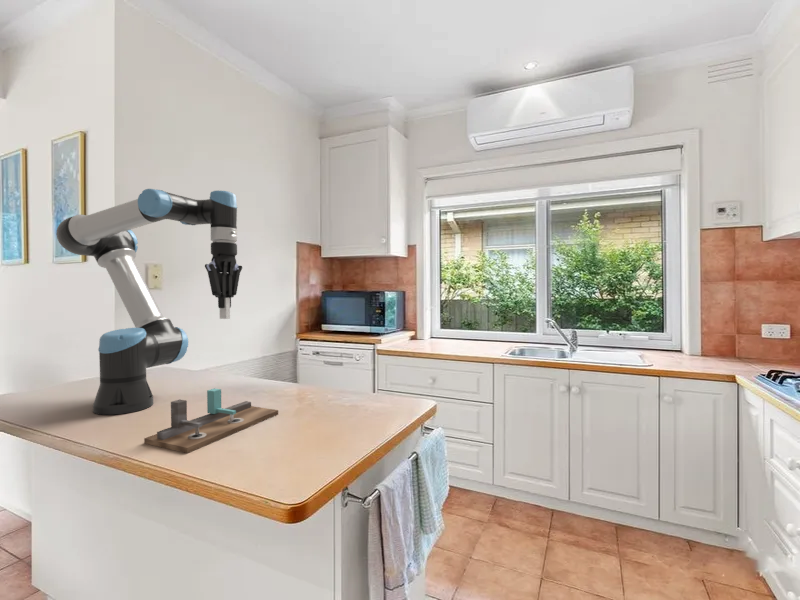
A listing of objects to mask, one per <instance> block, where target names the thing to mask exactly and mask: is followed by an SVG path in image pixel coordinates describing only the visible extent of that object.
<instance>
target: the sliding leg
mask: <svg viewBox="0 0 800 600" xmlns="http://www.w3.org/2000/svg"><path fill="white" fill-rule="evenodd" d="M206 397H207V399H206V400H207V402H206V404H207V407H206V410H207V414H216V413H219V412H220V413H226V414H230V421H233V415H234V414H236V410H229V409H225V408H224V407H223V408H222V389H221V388H216V387H215V388H211V389H208V390H206Z"/></svg>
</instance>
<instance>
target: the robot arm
mask: <svg viewBox="0 0 800 600" xmlns="http://www.w3.org/2000/svg"><path fill="white" fill-rule="evenodd" d="M209 195H210V196H209V198H208V199H195V198H194V199H193V198H192V197H191V198H190V197H187V196H182V195H178V194H174V193H171V192H167V191H164V190H161V189H155V188H146V189H144V190H142V192H141V193H139V195H138V197H137V198H136V199H133V200H130V201H126V202H124V203H121V204H118V205H115V206H111V207H108V208H105V209H102V210H100V211H97V212H93V213H91V214H88V215H85V214H76V215H73V216H70V217H67V218H65V219H63V220H62V221H61V222H60V223H59V224H58V226H57V228H56V232H55V233H56V239H57V241H58V243H59V244H60V245H61V247H62V248H63V249H65V250H66V251H68V252H69V253H71V254H74V255H77V256H89V257H94V258H95V261H96V263H97V265H98V266H99V267H101V268H103V269H106V272H107V274H108V275H109V277H110V280H111V281H112V283H113V285H114V288H115V289H116V291H117V293H118V296H119V297H120V299H121V301H122V303H123V305H124V307H125V309H126V311H127V313H128V316H129V318H130V319H131V321H132V323H133V326H134V327H128V328H119V329H115V330H110V331H108V332H105V333H103V334H101V336H100V338H99V340H98V341H99V343H98V345H99V346H98V349H97V350H98V354H99V356H98V357H99V387H98V390H97V393H96V395H95V398H94V400H93V403H92V411H93V413H94V414H97V415H102V416H103V415H104V416H105V415H106V416H107V415H109V416H110V415H121V414H130V413H134V412H139V411H142V410H145V409H147V408H149V407H152V406H153V405H154V395H153V393H152V390H151V387H150V385H149V383H148V380H147V369H148V368H154V367H158V366H163V365H170V364H172V363H175V362H178V361H180V360H182V358H183V357H185V355H186V354H187V352H188V347H189V337H188V335H187V332H186V331H185V330H184V329H183V328H180V327H176V326H174V324H173V323H172V321H171V319H170V318H168V317H164V316H163V314H162V313H161V310H160V308H159V306H158V304H157V302H156V300H155V298H154V297H153V294H152V292H151V290H150V289H149V287H148V285H147V283H146V281H145V279H144V277H143V275H142V273H141V271H140V269H139V267H138V265H137V263H136V260H135V258H136V257H137V251H138V244H139V242H138V239H137V236H136V234H135V232H134V231H133V229H137V228H140V227H143V226H146V225H149V224H153V223H156V222H160V221H163V220H170V221H177V222H180V223H181V224H182V225H185V226H188V225H189V226H197V225H210V241H212V242H211V243H210V254H211V255H212V257H211V260H210V262H209V263H206V264H204V269H206V272H207V276H208V280H209V286H210V289H211V290H210V291H211V294H212V296H214V297H215V298H217V305H218V306H217V307H218V309H219V319H220V320H221V319H223V320H228V319H230V320H231V307H232V298H234V296H236V295H237V293H238V286H239V280H240V277H241V276H240V275H241V272H242V269H243V266H242V265H239V263H237V258H236V257H237V255H238V244H237V243H236V242H237V241H238V232H237V231H238V230H237V229H238V226H237V222H238V219H237V217H238V214H237V213H238V205H237V195H236V194H235V193H233V192H231V191H227V190H213V191H211V192H210V194H209Z"/></svg>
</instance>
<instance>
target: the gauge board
mask: <svg viewBox="0 0 800 600" xmlns="http://www.w3.org/2000/svg"><path fill="white" fill-rule="evenodd" d="M187 403H188V401H187V399H186V400H184V399H176V400H173V401H170V426H169V427H167V428H164V429H162V430H159V431H156V434H152V435H150V436H147V437H143V438H144V439H143V443H144V444H146V445H151V446H154V447H158V448H159V447H160V448H163V449H167V450H171V451H177V452H181V453H184V454H190V453H192V452H193V451H197V450H199V449H201V448H203V447H205V446H208V445H210V444H212V443H215V442H218V441H220V440H222V439H224V438H226V437H228V436H231V435H234V434H236V433H238V432H240V431H243V430H245V429H248V428H250V427H253V426H255V425H257V424H259V423H261V422H265V421H266V420H269V419H271V418H273V417H275V416H278V415H279V410H278V409H273V408H266V407H260V406H255V405H254V406H252V402H251V401H248V400H245V401H243V402H240V403H237V404H234V405H233V404H232V405H231V406H228V407H225V408H224V409H229V410H236V414H234V415H233V421H230V414H226V413H220V412H219V413H216V414H210V413H207V414H205V415H202V416H198V417H196V418H194V419H190V420H188V410H187V409H188V406H187Z"/></svg>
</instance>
